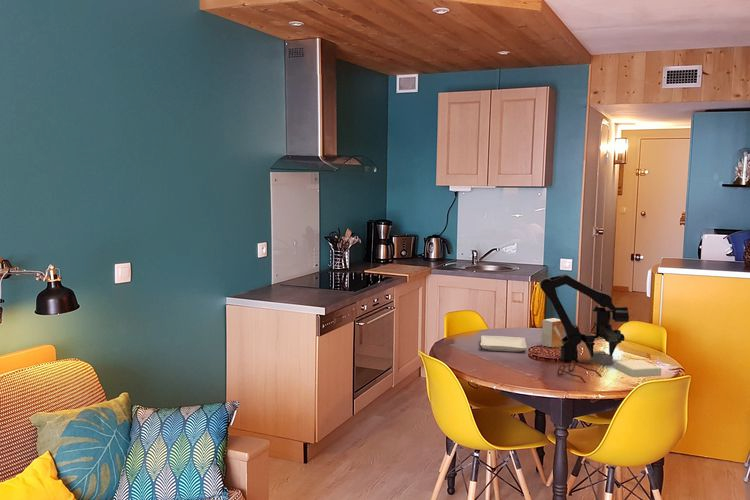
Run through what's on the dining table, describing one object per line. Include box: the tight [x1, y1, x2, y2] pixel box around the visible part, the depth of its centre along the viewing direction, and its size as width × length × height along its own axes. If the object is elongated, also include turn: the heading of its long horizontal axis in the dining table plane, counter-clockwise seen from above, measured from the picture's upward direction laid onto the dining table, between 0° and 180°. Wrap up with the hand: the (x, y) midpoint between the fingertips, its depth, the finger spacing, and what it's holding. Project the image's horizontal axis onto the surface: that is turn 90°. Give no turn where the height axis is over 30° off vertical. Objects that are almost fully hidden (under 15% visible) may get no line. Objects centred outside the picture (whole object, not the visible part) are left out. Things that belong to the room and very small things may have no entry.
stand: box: [614, 359, 662, 378], centre depth 272 cm, size 13×13×3 cm
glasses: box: [556, 361, 603, 384], centre depth 265 cm, size 13×13×5 cm
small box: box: [541, 317, 564, 348], centre depth 313 cm, size 8×6×13 cm
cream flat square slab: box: [480, 335, 528, 353], centre depth 312 cm, size 21×21×3 cm
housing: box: [589, 350, 614, 366], centre depth 286 cm, size 5×9×5 cm, turn 18°
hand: (601, 356), depth 286 cm, fingers open, 9 cm apart
